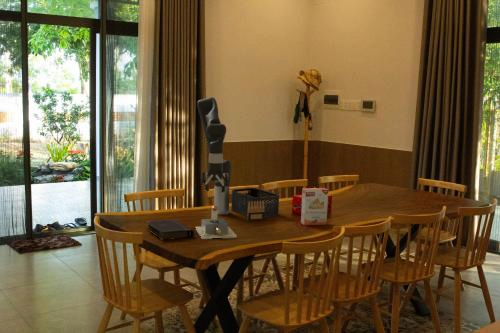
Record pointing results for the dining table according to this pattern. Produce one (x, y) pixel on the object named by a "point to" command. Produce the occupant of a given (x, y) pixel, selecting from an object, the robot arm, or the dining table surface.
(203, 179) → the robot arm
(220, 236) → the grey stand
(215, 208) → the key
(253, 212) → the ammunition clip
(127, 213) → the dining table surface
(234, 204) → the storage bin
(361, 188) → the dining table surface
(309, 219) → the cracker box
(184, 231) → the diary
